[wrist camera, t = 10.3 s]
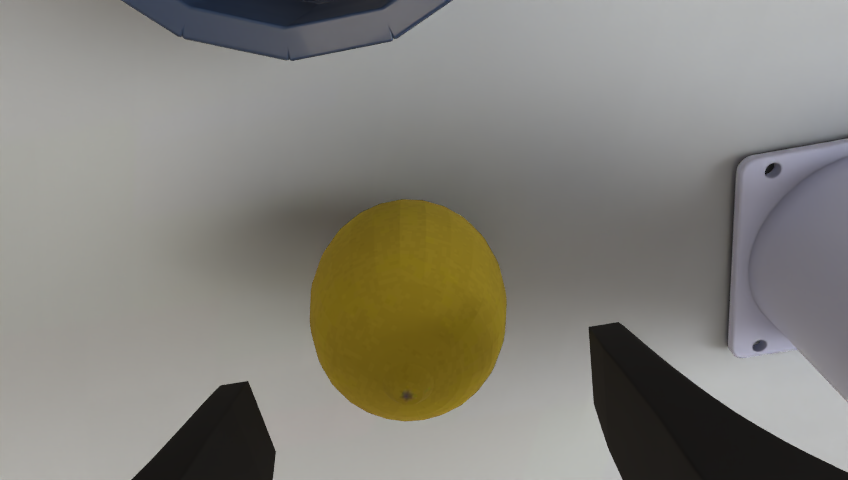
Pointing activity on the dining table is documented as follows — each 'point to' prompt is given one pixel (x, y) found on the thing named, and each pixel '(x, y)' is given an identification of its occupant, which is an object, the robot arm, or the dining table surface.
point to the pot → (288, 23)
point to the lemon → (408, 310)
